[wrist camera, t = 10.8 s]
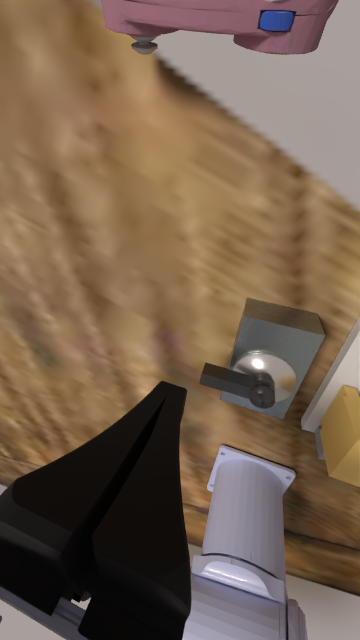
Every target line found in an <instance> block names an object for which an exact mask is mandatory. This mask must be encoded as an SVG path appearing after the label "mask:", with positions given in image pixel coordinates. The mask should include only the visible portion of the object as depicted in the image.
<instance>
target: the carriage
mask: <svg viewBox="0 0 360 640" xmlns="http://www.w3.org/2000/svg"><path fill="white" fill-rule="evenodd" d="M321 422H322V428H321V429H320V435H321V440H322V445H323V450H324V455H325V460H326V465H327V470H328V475H329V477H332V478H335V479H338V480H341V481H344V482H346V483H349V484H352V485H355V486H358V487H360V396H359V394H358V392H357V389H355V388H352V387H348V386H345V385H343V386H342V387H341V389H340V391H339V392H338V394H337V395H336V397H335V398H334V400H333V402H332V403H331V405H330V406H329V408H328V409H327V411H326V413H325V414H324V416H323V417H322V419H321Z"/></svg>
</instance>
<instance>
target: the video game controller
mask: <svg viewBox="0 0 360 640" xmlns="http://www.w3.org/2000/svg"><path fill="white" fill-rule="evenodd" d="M338 1H339V0H101V2H102V9H103V15H104V22H105V27H106V28H108V29H110V30H112V31H114V32H118V33H123V34H127V35H130V36H131V37H132V38H134V39H135V40H137V41H138V42H135V43H133V44H132V45H131V46H132V48H133V49H134V50H135V51H137V52H139V53H140V54H144V55H146V54H151V53H152V52H153V51H154V50H155V49H157V44H156V43H152V42H151V41H152V40H154V39H155V38H156V37H157V36H159V35H161V34H167V33H172V32H175V31H178V30H187V31H196V32H206V33H218V34H232V35H234V42H235V44H237V45H239V46H242V47H244V48H247V49H251V50H255V51H259V52H264V53H270V54H305V53H309V52H312V51H314V50H316V49H317V47H318V44H319V41H320V39H321V36H322V33H323V30H324V27H325V24H326V22H327V20H328V18H329V17H330V15H331V14H332V12H333V10H334V8H335V6H336V4H337V3H338Z"/></svg>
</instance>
